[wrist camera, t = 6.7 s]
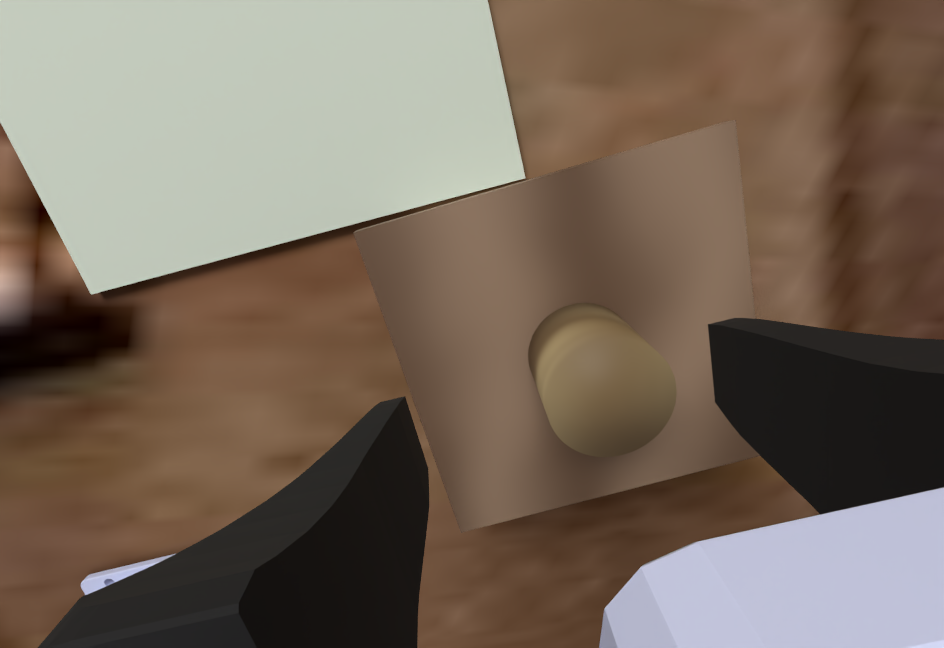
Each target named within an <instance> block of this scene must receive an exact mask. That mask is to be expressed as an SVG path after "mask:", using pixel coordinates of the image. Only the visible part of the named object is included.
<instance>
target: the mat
mask: <svg viewBox="0 0 944 648" xmlns="http://www.w3.org/2000/svg"><path fill="white" fill-rule="evenodd" d="M0 122H1V124H2V126H3V128H4V130H5V132H6V134H7V136H8V138H9V139H10V141H11V143H12V145H13V147H14V149H15V151H16V153H17V155H18V157H19V158H20V160H21V162H22V164H23V166H24V168H25V170H26V172H27V174H28V176H29V177H30V179H31V181H32V183H33V185H34V187H35V189H36V191H37V193H38V195H39V196H40V198H41V200H42V202H43V204H44V206H45V208H46V210H47V212H48V214H49V215H50V217H51V219H52V221H53V223H54V225H55V227H56V229H57V231H58V233H59V234H60V236H61V238H62V240H63V242H64V244H65V246H66V248H67V250H68V252H69V253H70V255H71V257H72V259H73V261H74V263H75V265H76V267H77V269H78V270H79V272H80V274H81V276H82V278H83V280H84V282H85V284H86V286H87V288H88V289H89V291H90V293H91V294H95V293H99V292H102V291H106V290H110V289H114V288H117V287H121V286H125V285H129V284H132V283H136V282H140V281H143V280H147V279H151V278H155V277H158V276H162V275H166V274H170V273H173V272H177V271H181V270H185V269H188V268H192V267H196V266H199V265H203V264H207V263H211V262H214V261H218V260H222V259H226V258H229V257H233V256H237V255H241V254H244V253H248V252H252V251H255V250H259V249H263V248H267V247H270V246H274V245H278V244H282V243H285V242H289V241H293V240H297V239H300V238H304V237H308V236H311V235H315V234H319V233H323V232H326V231H330V230H334V229H338V228H341V227H345V226H349V225H353V224H356V223H360V222H364V221H368V220H371V219H375V218H379V217H382V216H386V215H390V214H394V213H397V212H401V211H405V210H409V209H412V208H416V207H420V206H424V205H427V204H431V203H435V202H438V201H442V200H446V199H450V198H453V197H457V196H461V195H465V194H468V193H472V192H476V191H480V190H483V189H487V188H491V187H494V186H498V185H502V184H506V183H509V182H513V181H517V180H521V179H524V178H525V174H524V169H523V164H522V160H521V155H520V150H519V146H518V141H517V136H516V131H515V127H514V122H513V117H512V113H511V108H510V103H509V98H508V94H507V89H506V84H505V80H504V75H503V70H502V65H501V61H500V56H499V51H498V47H497V42H496V37H495V32H494V28H493V23H492V18H491V14H490V9H489V4H488V0H0Z"/></svg>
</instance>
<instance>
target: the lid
mask: <svg viewBox="0 0 944 648" xmlns="http://www.w3.org/2000/svg"><path fill="white" fill-rule="evenodd" d="M353 234H354V236H355V239H356V242H357V245H358V247H359V250H360V253H361V256H362V259H363V261H364V264H365V267H366V270H367V272H368V275H369V278H370V281H371V284H372V286H373V289H374V292H375V295H376V297H377V300H378V303H379V306H380V309H381V311H382V314H383V317H384V320H385V323H386V325H387V328H388V331H389V334H390V336H391V339H392V342H393V345H394V348H395V350H396V353H397V356H398V359H399V361H400V364H401V367H402V370H403V373H404V375H405V378H406V381H407V384H408V386H409V389H410V392H411V395H412V398H413V400H414V403H415V406H416V409H417V411H418V414H419V417H420V420H421V423H422V425H423V428H424V431H425V434H426V437H427V439H428V442H429V445H430V448H431V450H432V453H433V456H434V459H435V462H436V464H437V467H438V470H439V473H440V475H441V478H442V481H443V484H444V487H445V489H446V492H447V495H448V498H449V500H450V503H451V506H452V509H453V512H454V514H455V517H456V520H457V523H458V525H459V528H460V531H461V533H462V532H466V531H470V530H473V529H477V528H481V527H485V526H489V525H493V524H497V523H501V522H505V521H508V520H512V519H516V518H520V517H524V516H528V515H532V514H536V513H540V512H543V511H547V510H551V509H555V508H559V507H563V506H567V505H571V504H575V503H578V502H582V501H586V500H590V499H594V498H598V497H602V496H606V495H610V494H613V493H617V492H621V491H625V490H629V489H633V488H637V487H641V486H645V485H648V484H652V483H656V482H660V481H664V480H668V479H672V478H676V477H680V476H683V475H687V474H691V473H695V472H699V471H703V470H707V469H711V468H715V467H718V466H722V465H726V464H730V463H734V462H738V461H742V460H746V459H750V458H753V457H757V456H760V455H759V454H758V453H757V452H756V451H755V450H754V449H753V448H752V447H751V446H750V445H749V444H748V443H747V442H746V441H745V440H744V439H743V438H742V437H741V436H740V435H739V433H738V432H737V431H736V430H735V428H734V427H733V426H732V425H731V423H730V422H729V421H728V419H727V418H726V417H725V415H724V414H723V413H722V411H721V410H720V408H719V407H718V406H717V404H716V403H715V396H714V386H713V375H712V364H711V354H710V343H709V332H708V324H711V323H715V322H720V321H724V320H728V319H732V318H752V319H755V309H754V299H753V289H752V279H751V269H750V259H749V249H748V239H747V229H746V219H745V209H744V199H743V189H742V179H741V169H740V159H739V150H738V140H737V130H736V120H732V121H725V122H722V123H718V124H715V125H712V126H708V127H705V128H701V129H698V130H695V131H691V132H688V133H685V134H681V135H678V136H674V137H671V138H668V139H664V140H661V141H657V142H654V143H651V144H647V145H644V146H640V147H637V148H634V149H630V150H627V151H623V152H620V153H617V154H613V155H610V156H606V157H603V158H600V159H596V160H593V161H590V162H586V163H583V164H579V165H576V166H573V167H569V168H566V169H562V170H559V171H556V172H552V173H549V174H545V175H542V176H539V177H535V178H532V179H528V180H525V181H522V182H518V183H515V184H511V185H508V186H505V187H501V188H498V189H495V190H491V191H488V192H484V193H481V194H478V195H474V196H471V197H467V198H464V199H461V200H457V201H454V202H450V203H447V204H444V205H440V206H437V207H433V208H430V209H427V210H423V211H420V212H417V213H413V214H410V215H406V216H403V217H400V218H396V219H393V220H389V221H386V222H383V223H379V224H376V225H372V226H369V227H366V228H362V229H359V230H356V231H355V232H353Z"/></svg>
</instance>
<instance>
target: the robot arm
mask: <svg viewBox="0 0 944 648" xmlns="http://www.w3.org/2000/svg"><path fill="white" fill-rule="evenodd" d="M708 332H709V343H710V354H711V364H712V375H713V386H714V396H715V403H716V404H717V406H718V407H719V408H720V410H721V411H722V413H723V414H724V415H725V417H726V418H727V419H728V421H729V422H730V423H731V425H732V426H733V427H734V428H735V430H736V431H737V432H738V433H739V435H740V436H741V437H742V438H743V439H744V440H745V441H746V442H747V443H748V444H749V445H750V446H751V447H752V448H753V449H754V450H755V451H756V452H757V453H758V454H759V455H760V456H761V457H762V458H763V459H764V460H765V461H766V462H767V463H769V464H770V465H771V466H772V467H773V468H774V469H775V470H776V471H777V472H778V473H779V474H780V475H781V476H782V477H783V478H784V479H785V480H786V481H787V482H788V483H789V484H790V485H791V486H792V487H793V488H794V489H795V490H796V491H797V492H798V493H800V494H801V495H802V496H803V497H804V498H805V499H806V500H807V501H808V502H809V503H810V504H811V505H812V506H813V507H814V508H815V509H816V510H817V511H818V512H819V513H820V515H816V516H811V517H807V518H802V519H797V520H793V521H788V522H784V523H779V524H775V525H770V526H766V527H761V528H757V529H752V530H748V531H743V532H738V533H734V534H729V535H725V536H720V537H716V538H711V539H707V540H702V541H698V542H693V543H691V544H689V545H687V546H684V547H682V548H680V549H677V550H675V551H673V552H671V553H668V554H666V555H664V556H662V557H659V558H657V559H655V560H653V561H650V562H648V563H646V564H644V565H642V566H641V567H640V569H639V570H638V571H637V572H636V573H635V574H634V575H633V577H632V578H631V579H630V580H629V581H628V582H627V583H626V585H625V586H624V587H623V588H622V589H621V590H620V591H619V593H618V594H617V595H616V596H615V597H614V598H613V599H612V601H611V602H610V603H609V604H608V605H607V606H606V607H605V609H604V616H603V623H602V631H601V638H600V645H599V648H944V340H936V339H917V338H903V337H891V336H881V335H872V334H863V333H854V332H846V331H839V330H831V329H824V328H817V327H811V326H804V325H797V324H791V323H784V322H777V321H770V320H761V319H752V318H732V319H728V320H724V321H720V322H715V323H711V324H708ZM428 512H429V479H428V467H427V464H426V461H425V457H424V454H423V451H422V448H421V445H420V442H419V439H418V436H417V432H416V429H415V426H414V423H413V420H412V417H411V414H410V411H409V408H408V404H407V401H406V398H405V397H401V398H397V399H392V400H388V401H384V402H380V403H379V404H377V405H376V406H375V407H373V408H372V409H371V410H370V411H369V412H368V413H367V414H366V415H365V416H364V417H363V418H362V419H361V420H360V421H359V422H358V423H357V424H356V425H355V426H354V427H353V428H352V429H351V430H350V431H349V432H348V433H347V434H346V435H345V436H344V437H343V438H342V439H340V440H339V441H338V442H337V443H336V444H335V445H334V446H333V447H332V448H331V449H330V450H329V451H328V452H326V453H325V454H324V455H323V456H322V457H321V458H320V459H319V460H318V461H316V462H315V463H314V464H313V465H312V466H311V467H310V468H309V469H307V470H306V471H305V472H304V473H303V474H301V475H300V476H299V477H298V478H296V479H295V480H294V481H293V482H291V483H290V484H289V485H287V486H286V487H285V488H283V489H282V490H281V491H279V492H278V493H277V494H275V495H274V496H272V497H271V498H270V499H268V500H267V501H265V502H264V503H262V504H261V505H259V506H258V507H256V508H254V509H253V510H251V511H250V512H248V513H247V514H245V515H243V516H242V517H240V518H239V519H237V520H236V521H234V522H232V523H231V524H229V525H228V526H226V527H224V528H223V529H221V530H219V531H218V532H216V533H214V534H212V535H210V536H209V537H207V538H205V539H203V540H201V541H200V542H198V543H196V544H194V545H192V546H190V547H188V548H186V549H185V550H183V551H181V552H179V553H177V554H173V555H169V556H164V557H160V558H156V559H152V560H148V561H144V562H139V563H135V564H131V565H127V566H123V567H119V568H114V569H110V570H106V571H102V572H98V573H94V574H90V575H88V576H87V577H86V578H85V579H84V580H83V581H82V583H81V588H82V590H83V592H84V593H85V596H83V597H81V598H80V599H79V600H78V601H77V602H76V604H75V605H74V606H73V607H72V608H71V609H70V611H69V612H68V613H67V614H66V615H65V616H64V618H63V619H62V620H61V621H60V622H59V623H58V625H57V626H56V627H55V628H54V629H53V630H52V632H51V633H50V634H49V635H48V636H47V637H46V639H45V640H44V641H43V642H42V643H41V645H40V646H39V647H38V648H417V629H418V603H419V590H420V582H421V573H422V565H423V556H424V548H425V539H426V530H427V521H428Z"/></svg>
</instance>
